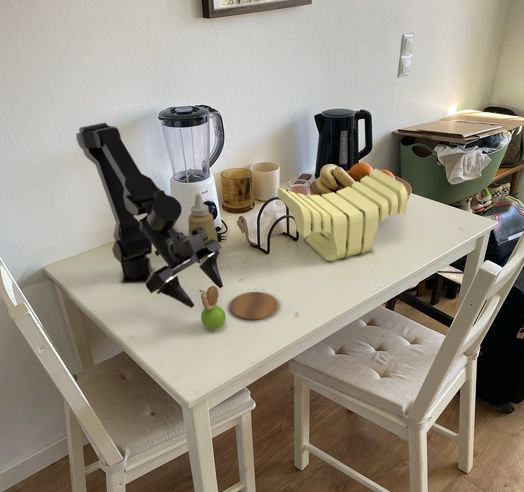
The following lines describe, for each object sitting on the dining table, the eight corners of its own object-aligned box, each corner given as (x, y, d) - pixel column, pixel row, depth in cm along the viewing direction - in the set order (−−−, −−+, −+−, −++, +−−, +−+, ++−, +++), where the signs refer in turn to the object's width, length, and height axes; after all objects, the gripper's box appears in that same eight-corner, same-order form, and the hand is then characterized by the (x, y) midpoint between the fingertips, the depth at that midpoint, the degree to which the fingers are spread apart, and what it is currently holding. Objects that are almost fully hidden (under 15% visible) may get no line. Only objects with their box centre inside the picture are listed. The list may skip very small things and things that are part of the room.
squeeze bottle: (190, 249, 147) (183, 189, 137) (219, 247, 148) (213, 187, 138) (190, 263, 141) (181, 201, 131) (219, 261, 141) (213, 199, 131)
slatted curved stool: (303, 272, 134) (304, 209, 124) (279, 246, 147) (277, 187, 137) (401, 248, 143) (409, 187, 133) (370, 225, 155) (375, 168, 145)
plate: (229, 321, 118) (229, 319, 118) (231, 294, 127) (231, 292, 127) (277, 319, 118) (277, 317, 117) (276, 293, 127) (276, 291, 127)
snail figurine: (196, 334, 114) (189, 288, 108) (209, 318, 119) (203, 273, 113) (218, 339, 113) (212, 293, 106) (230, 322, 118) (226, 277, 111)
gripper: (145, 237, 99) (193, 303, 99) (210, 204, 111) (253, 263, 112) (126, 262, 108) (170, 322, 108) (189, 229, 120) (228, 283, 120)
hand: (207, 296), depth 112 cm, fingers open, 9 cm apart
